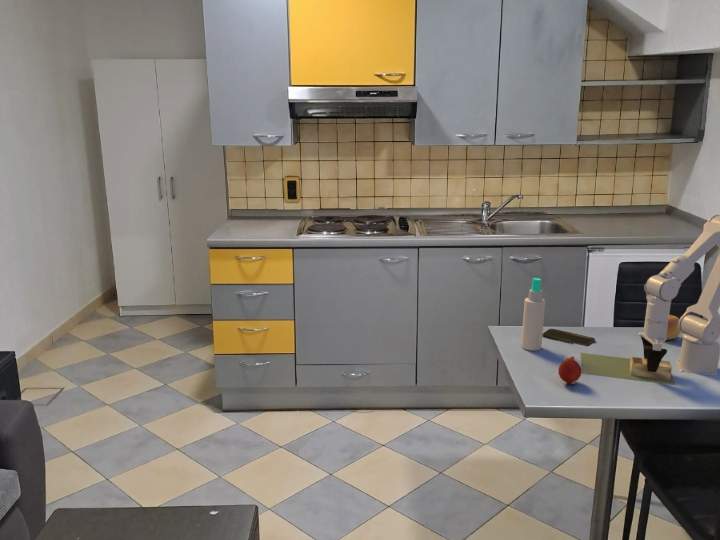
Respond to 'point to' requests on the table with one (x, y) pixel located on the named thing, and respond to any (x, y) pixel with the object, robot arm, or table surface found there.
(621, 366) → the rubber mat
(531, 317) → the spray bottle
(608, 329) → the table surface
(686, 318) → the robot arm
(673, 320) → the apple
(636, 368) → the wooden cubby box
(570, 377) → the onion
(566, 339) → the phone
